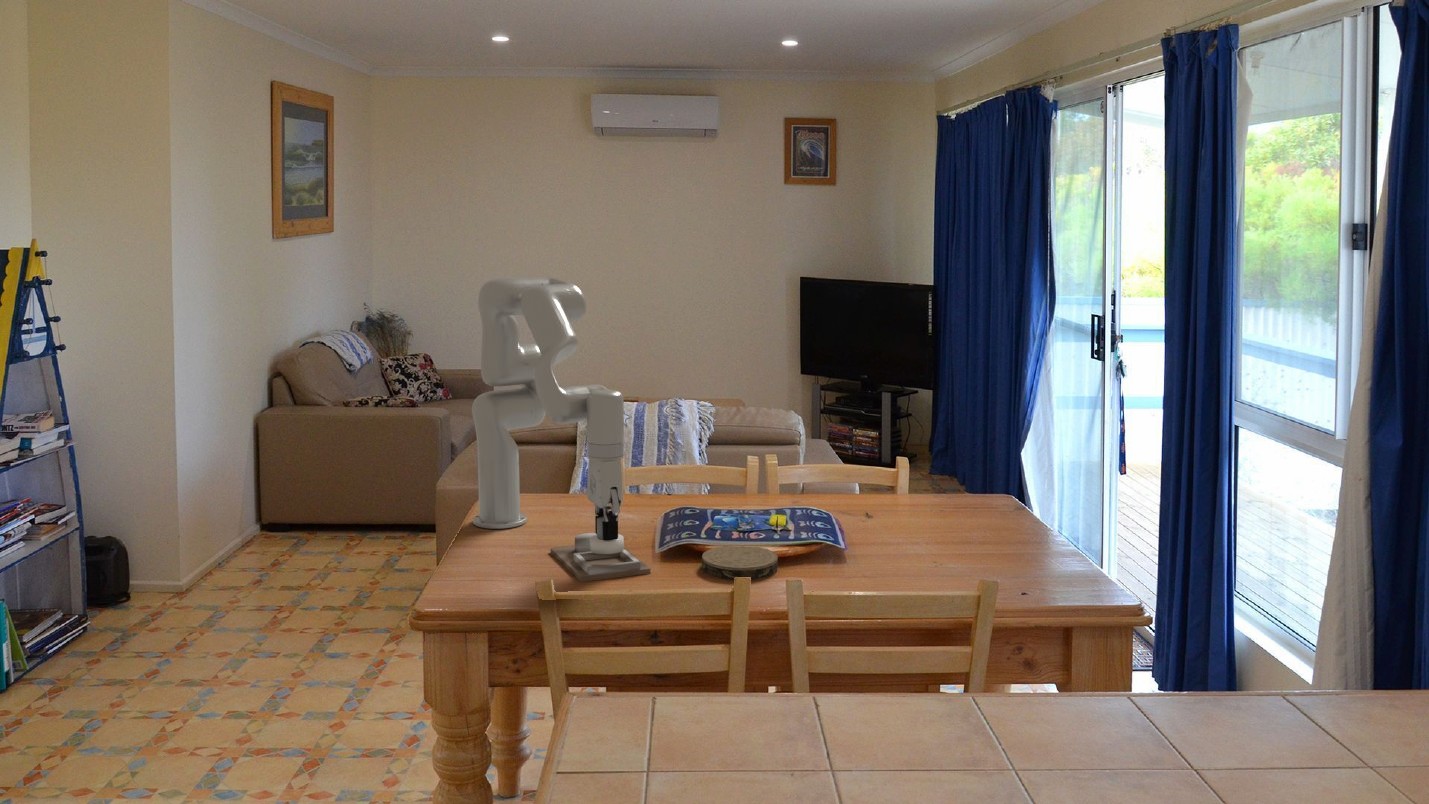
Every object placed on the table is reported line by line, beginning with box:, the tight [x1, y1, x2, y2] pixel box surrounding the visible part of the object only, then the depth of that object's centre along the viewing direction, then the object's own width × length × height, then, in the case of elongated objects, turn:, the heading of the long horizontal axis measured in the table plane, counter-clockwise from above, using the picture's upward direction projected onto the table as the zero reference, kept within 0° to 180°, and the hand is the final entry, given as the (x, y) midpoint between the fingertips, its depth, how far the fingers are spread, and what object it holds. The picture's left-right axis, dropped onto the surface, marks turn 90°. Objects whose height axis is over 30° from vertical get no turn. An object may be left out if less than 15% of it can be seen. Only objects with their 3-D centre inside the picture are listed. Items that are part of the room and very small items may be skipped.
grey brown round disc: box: [701, 545, 779, 581], centre depth 252 cm, size 16×16×3 cm
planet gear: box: [590, 517, 625, 554], centre depth 250 cm, size 7×7×6 cm
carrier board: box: [550, 532, 651, 583], centre depth 255 cm, size 22×15×4 cm
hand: (606, 535), depth 250 cm, fingers closed on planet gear, 4 cm apart
